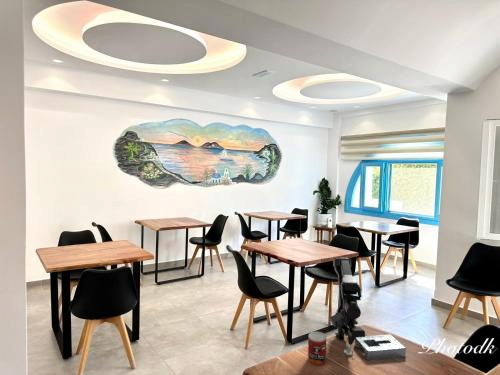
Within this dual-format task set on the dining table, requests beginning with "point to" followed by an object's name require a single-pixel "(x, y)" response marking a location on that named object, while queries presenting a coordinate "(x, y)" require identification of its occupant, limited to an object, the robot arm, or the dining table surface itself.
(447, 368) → the dining table surface
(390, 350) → the keyhole plate
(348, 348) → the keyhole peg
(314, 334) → the canned food
